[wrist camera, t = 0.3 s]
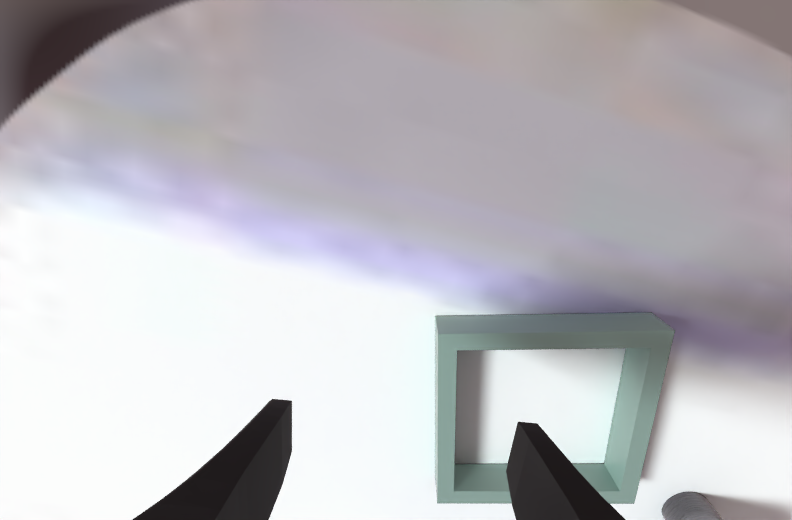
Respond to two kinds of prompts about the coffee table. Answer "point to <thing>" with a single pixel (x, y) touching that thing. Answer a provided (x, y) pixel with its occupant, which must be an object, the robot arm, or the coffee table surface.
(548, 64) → the coffee table surface
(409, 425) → the coffee table surface
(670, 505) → the cell
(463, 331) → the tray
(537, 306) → the coffee table surface
